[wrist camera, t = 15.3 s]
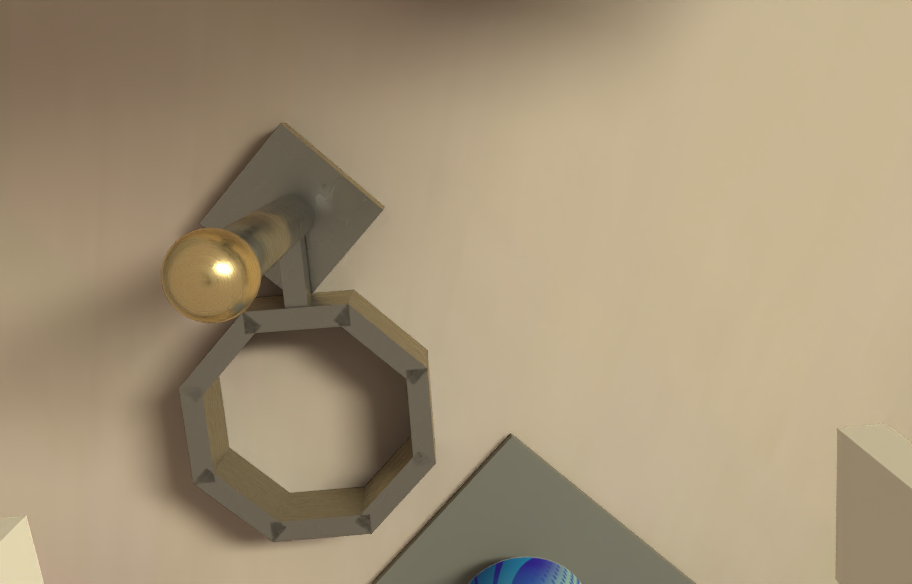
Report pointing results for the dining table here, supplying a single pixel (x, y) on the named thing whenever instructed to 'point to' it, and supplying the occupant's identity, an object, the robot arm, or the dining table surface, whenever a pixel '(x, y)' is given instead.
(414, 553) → the rubber mat
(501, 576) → the beer can
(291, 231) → the ring stand
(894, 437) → the robot arm
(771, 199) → the dining table surface
